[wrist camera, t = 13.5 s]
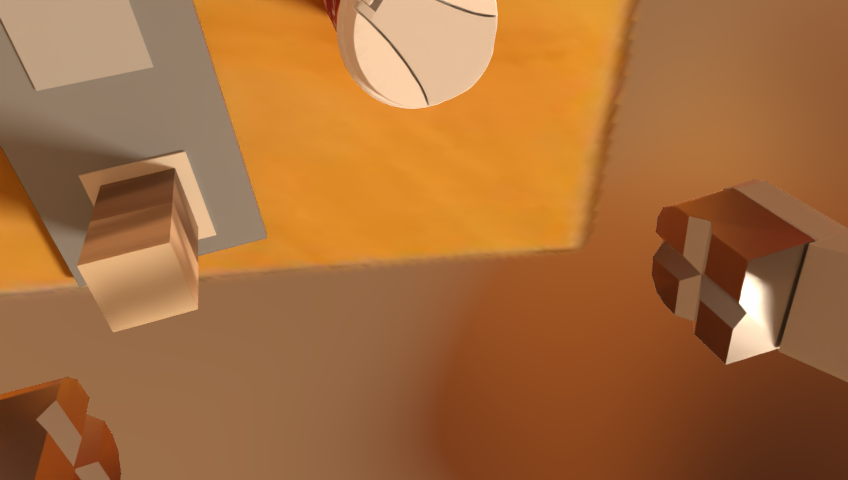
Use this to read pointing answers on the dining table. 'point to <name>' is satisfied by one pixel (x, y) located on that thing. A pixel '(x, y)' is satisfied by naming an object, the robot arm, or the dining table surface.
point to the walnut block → (147, 199)
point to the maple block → (140, 266)
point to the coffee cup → (414, 46)
